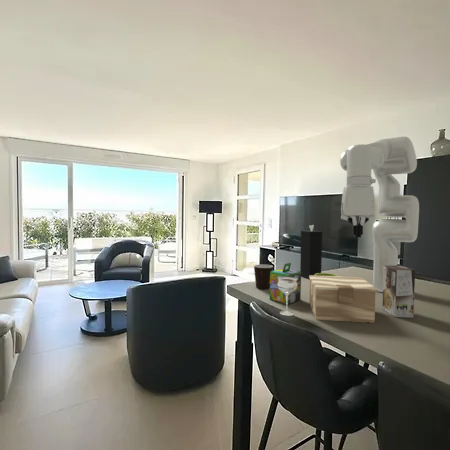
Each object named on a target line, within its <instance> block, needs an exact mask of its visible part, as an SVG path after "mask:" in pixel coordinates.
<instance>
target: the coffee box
mask: <svg viewBox="0 0 450 450" xmlns="http://www.w3.org/2000/svg"><path fill="white" fill-rule="evenodd" d="M415 279H416V269H413V268H410V267H407V266H403V265H398V264H397V265H389V266H383V292H382V310H383V311H385V312H386V313H388V314H390V315H391V316H393V317H395V318H410V319H411V318H414V311H415V309H414V308H415V307H414V306H415V287H416V286H415V285H416V284H415V281H416V280H415Z"/></svg>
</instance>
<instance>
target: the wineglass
mask: <svg viewBox="0 0 450 450" xmlns="http://www.w3.org/2000/svg"><path fill="white" fill-rule="evenodd" d="M278 280H279V281H278V283H277V286H278V288H279V290H280V291H281V292H283V293H285V295H286V304H285V310H281V311H279V314H280V315H281V316H289V317H290V316H294V315H295V313H294V312H293V311H290V310H288V307H289V304H288V295H290V294H291V293H293V292H294V291H295V290H296V289H297V282H296V281H297V278H294V277H278Z"/></svg>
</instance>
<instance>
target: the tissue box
mask: <svg viewBox="0 0 450 450" xmlns="http://www.w3.org/2000/svg"><path fill="white" fill-rule="evenodd" d="M314 227H315V226H314V224H312V225H309V230H300V267H299V268H300V270H299V271H300V272H301V278H305V279H307V280H310V278H309V275H314V274H316V273H322V262H323V261H322V259H323V258H322V254H323V253H322V252H323V231H322V230H320V231H319V230H314Z"/></svg>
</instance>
